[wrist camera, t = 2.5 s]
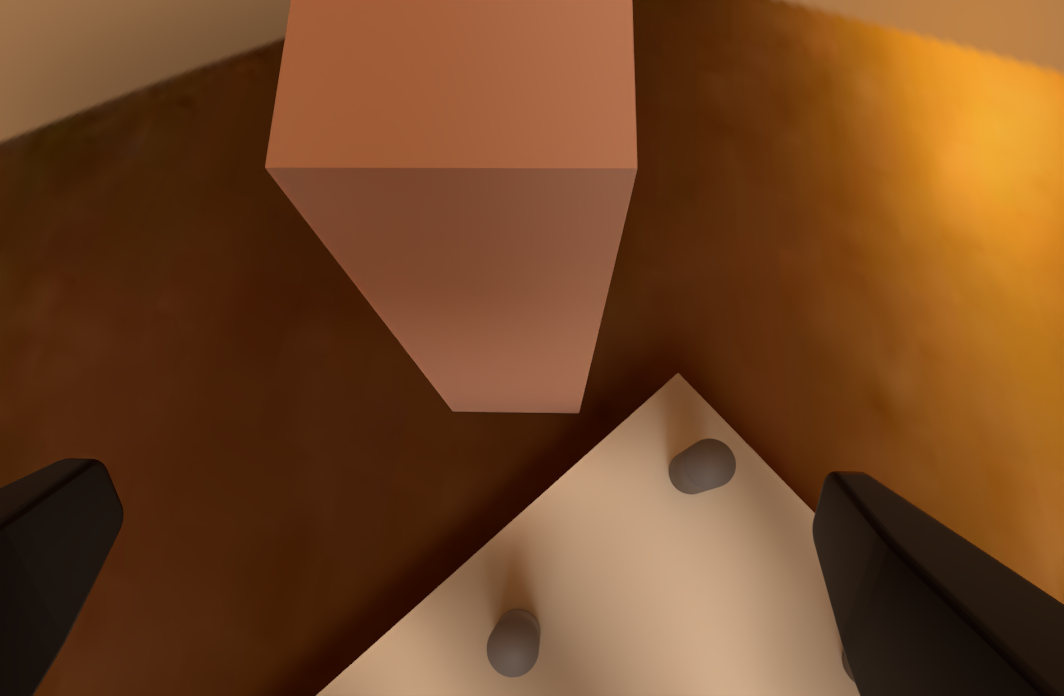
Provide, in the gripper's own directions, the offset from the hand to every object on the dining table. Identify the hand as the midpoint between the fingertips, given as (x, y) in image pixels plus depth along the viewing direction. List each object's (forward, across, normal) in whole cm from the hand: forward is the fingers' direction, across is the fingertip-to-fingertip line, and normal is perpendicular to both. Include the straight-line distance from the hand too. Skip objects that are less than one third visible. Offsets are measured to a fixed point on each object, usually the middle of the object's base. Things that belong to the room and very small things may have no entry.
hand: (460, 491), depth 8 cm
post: (+12, 0, +5) cm, 13 cm away
